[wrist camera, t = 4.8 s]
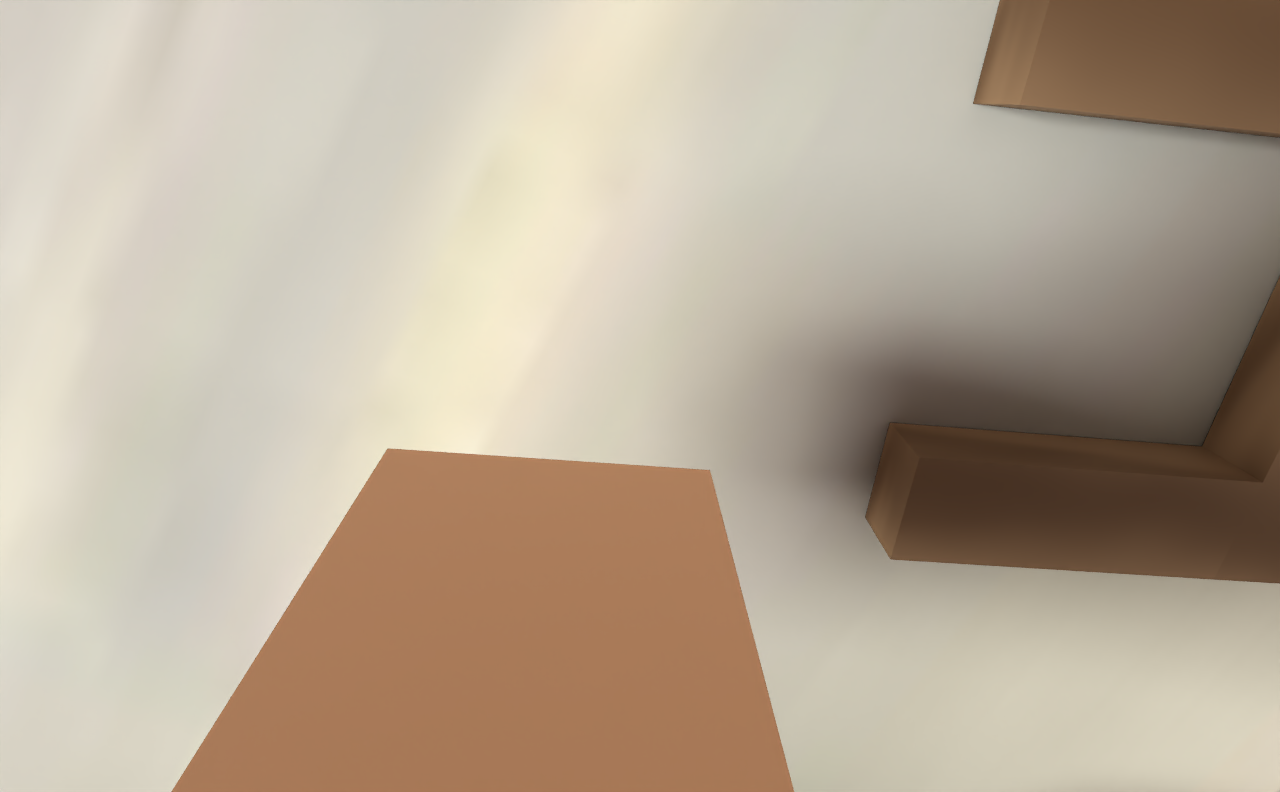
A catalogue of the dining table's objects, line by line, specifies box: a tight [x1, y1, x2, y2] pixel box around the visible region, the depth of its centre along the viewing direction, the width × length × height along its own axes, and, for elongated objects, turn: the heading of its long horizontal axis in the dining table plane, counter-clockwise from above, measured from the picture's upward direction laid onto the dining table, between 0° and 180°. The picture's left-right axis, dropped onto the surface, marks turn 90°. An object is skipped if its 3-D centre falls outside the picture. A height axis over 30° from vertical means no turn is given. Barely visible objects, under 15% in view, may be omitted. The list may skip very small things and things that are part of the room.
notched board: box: [865, 0, 1280, 583], centre depth 17 cm, size 14×13×2 cm
